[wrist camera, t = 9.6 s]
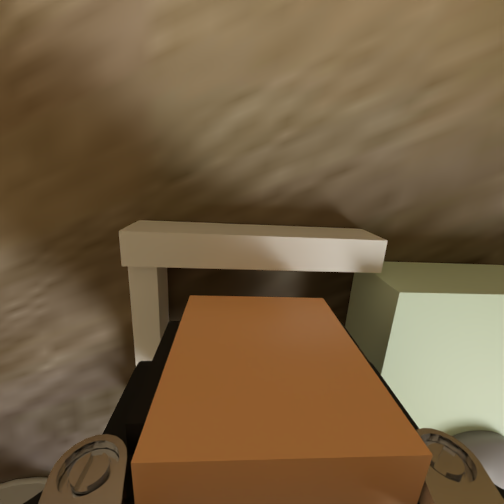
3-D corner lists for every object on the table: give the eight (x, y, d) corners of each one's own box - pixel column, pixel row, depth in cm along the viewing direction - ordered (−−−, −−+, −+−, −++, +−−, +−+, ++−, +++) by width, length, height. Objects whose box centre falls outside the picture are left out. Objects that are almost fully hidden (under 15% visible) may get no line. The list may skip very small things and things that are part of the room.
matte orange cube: (189, 295, 9) (131, 463, 4) (322, 297, 10) (433, 455, 4) (191, 404, 10) (148, 640, 5) (308, 402, 11) (378, 622, 6)
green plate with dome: (139, 219, 11) (90, 245, 7) (557, 236, 12) (698, 264, 8) (157, 496, 15) (133, 601, 11) (463, 485, 16) (528, 574, 13)
